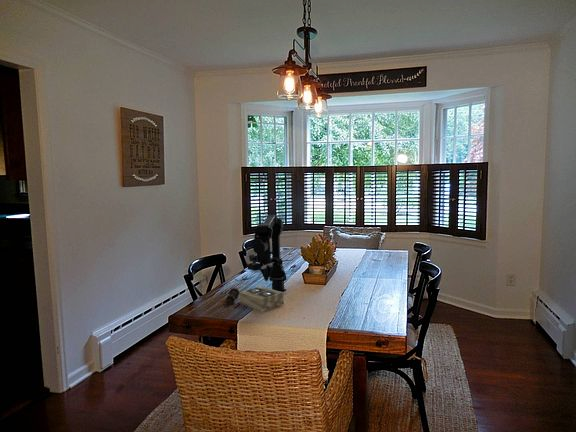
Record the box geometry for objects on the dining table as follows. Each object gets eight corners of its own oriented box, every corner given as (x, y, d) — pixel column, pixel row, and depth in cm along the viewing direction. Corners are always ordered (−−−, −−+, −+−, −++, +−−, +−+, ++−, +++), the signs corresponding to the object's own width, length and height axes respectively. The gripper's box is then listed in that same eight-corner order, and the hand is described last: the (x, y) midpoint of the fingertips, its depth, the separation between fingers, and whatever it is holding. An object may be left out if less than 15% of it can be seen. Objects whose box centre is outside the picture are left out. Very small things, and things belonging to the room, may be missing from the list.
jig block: (260, 297, 225) (260, 285, 224) (283, 303, 212) (283, 291, 211) (239, 303, 215) (239, 291, 214) (262, 311, 202) (262, 298, 202)
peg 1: (256, 299, 219) (255, 288, 219) (261, 300, 217) (260, 289, 216) (250, 301, 217) (249, 290, 216) (255, 302, 214) (254, 291, 213)
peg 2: (267, 302, 213) (267, 291, 212) (273, 304, 210) (272, 293, 210) (261, 304, 210) (261, 293, 210) (267, 306, 207) (266, 295, 207)
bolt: (227, 309, 213) (233, 299, 228) (235, 304, 212) (241, 294, 227) (221, 300, 213) (227, 290, 227) (229, 295, 212) (235, 285, 227)
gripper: (268, 245, 219) (269, 274, 221) (239, 251, 206) (241, 282, 208) (282, 247, 211) (284, 277, 213) (254, 253, 198) (255, 286, 200)
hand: (266, 280), depth 209 cm, fingers closed
